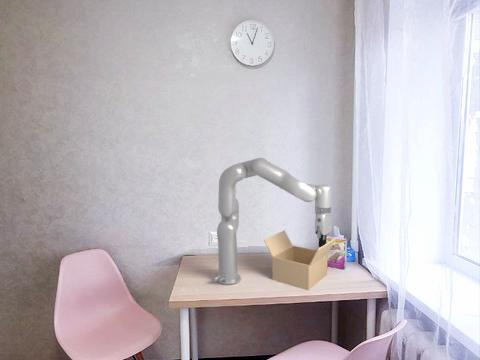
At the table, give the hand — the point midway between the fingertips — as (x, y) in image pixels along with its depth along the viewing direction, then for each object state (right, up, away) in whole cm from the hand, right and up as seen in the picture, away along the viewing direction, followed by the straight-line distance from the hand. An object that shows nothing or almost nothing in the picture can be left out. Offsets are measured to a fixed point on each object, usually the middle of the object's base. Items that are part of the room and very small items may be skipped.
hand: (322, 247), depth 152 cm
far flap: (-19, -1, +15) cm, 25 cm away
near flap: (0, -2, 0) cm, 2 cm away
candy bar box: (+13, -16, +22) cm, 30 cm away
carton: (-9, -18, +9) cm, 22 cm away
